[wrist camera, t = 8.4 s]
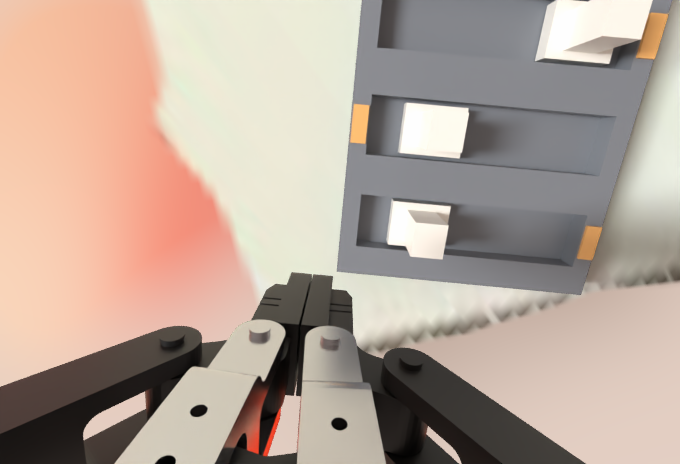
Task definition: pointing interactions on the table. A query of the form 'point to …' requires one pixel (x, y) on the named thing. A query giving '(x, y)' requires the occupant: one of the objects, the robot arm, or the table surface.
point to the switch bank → (488, 142)
